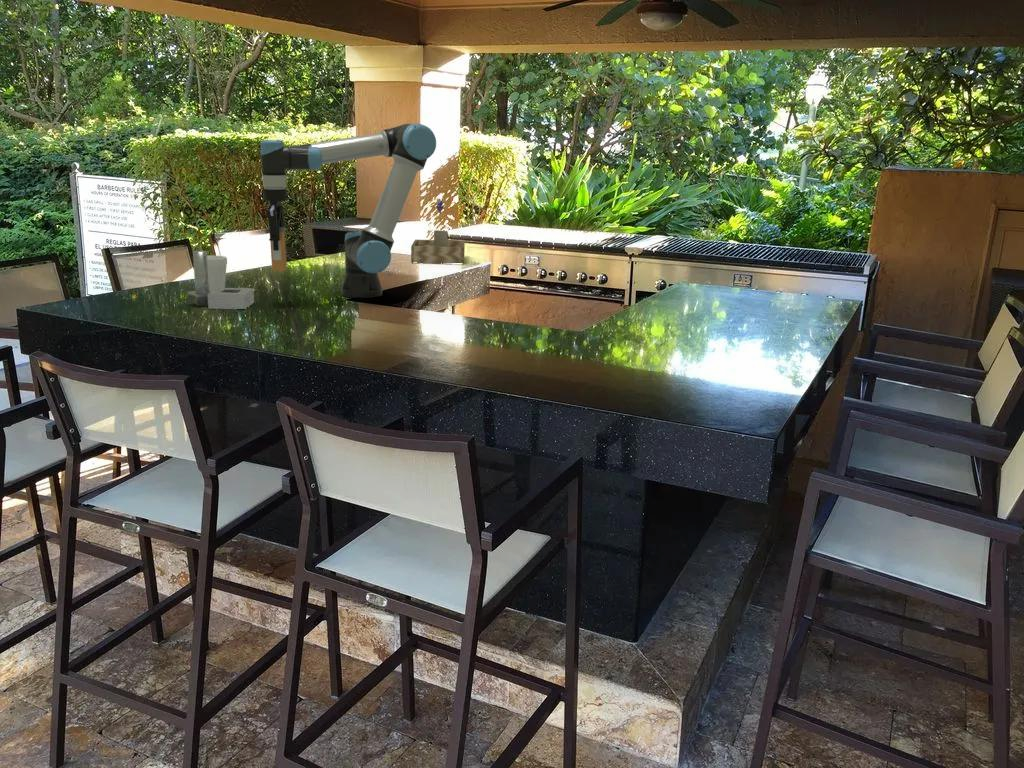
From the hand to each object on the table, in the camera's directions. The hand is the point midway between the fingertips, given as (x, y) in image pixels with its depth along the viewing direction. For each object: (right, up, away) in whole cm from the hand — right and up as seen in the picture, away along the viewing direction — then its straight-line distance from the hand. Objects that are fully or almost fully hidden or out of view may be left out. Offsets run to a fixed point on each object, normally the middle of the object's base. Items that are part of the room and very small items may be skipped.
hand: (278, 258), depth 289 cm
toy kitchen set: (+46, +17, +124) cm, 133 cm away
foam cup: (-29, -10, +20) cm, 36 cm away
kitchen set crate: (+43, +17, +123) cm, 132 cm away
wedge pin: (0, -4, +1) cm, 4 cm away
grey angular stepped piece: (-20, -14, +5) cm, 25 cm away
